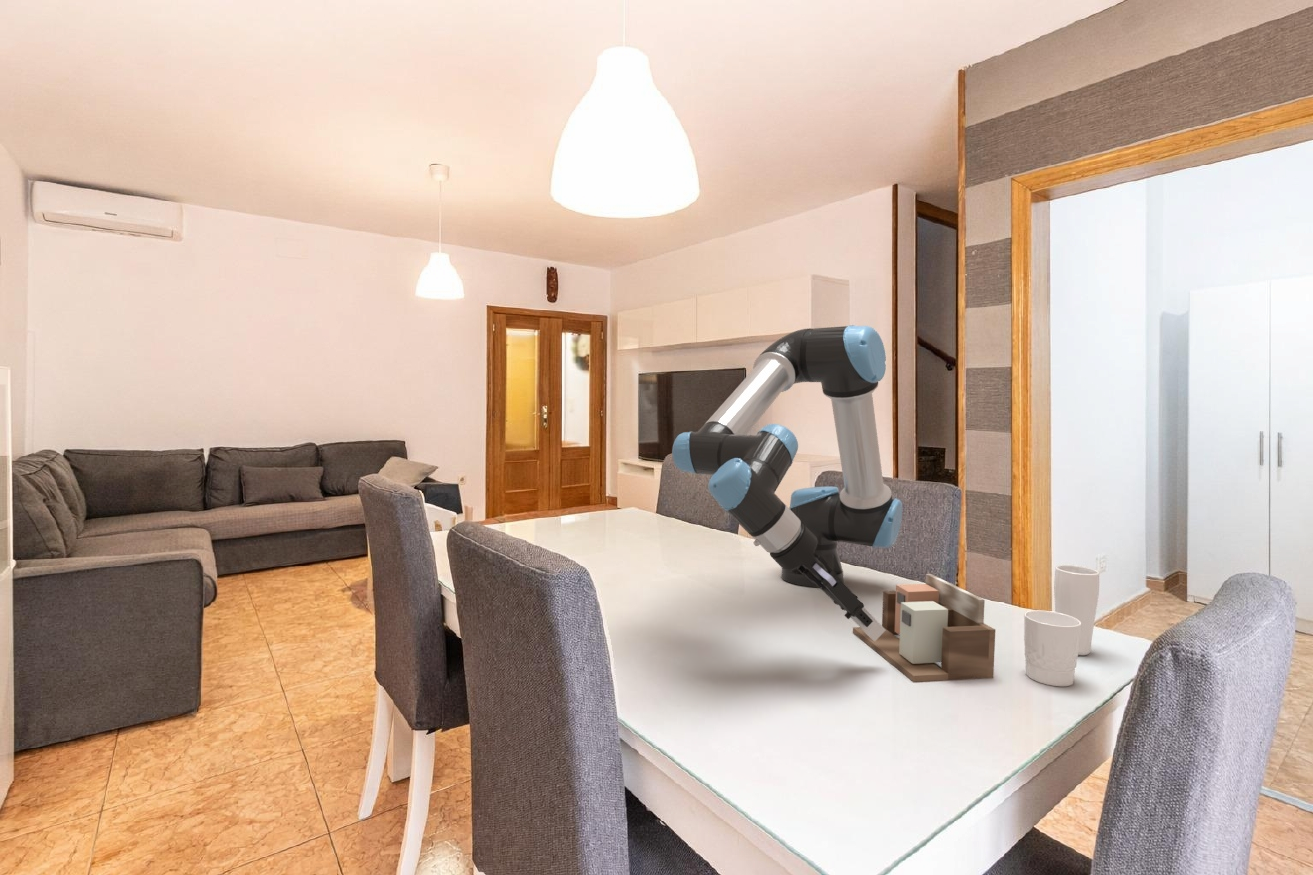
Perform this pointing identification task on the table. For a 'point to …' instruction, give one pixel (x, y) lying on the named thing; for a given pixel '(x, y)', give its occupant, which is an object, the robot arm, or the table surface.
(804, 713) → the table surface
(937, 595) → the peach rectangular block
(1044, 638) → the white cup
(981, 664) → the wooden rack
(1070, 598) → the drinking glass
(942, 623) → the cream rectangular block
